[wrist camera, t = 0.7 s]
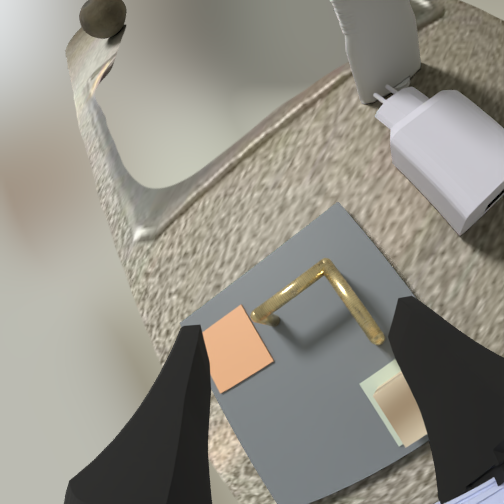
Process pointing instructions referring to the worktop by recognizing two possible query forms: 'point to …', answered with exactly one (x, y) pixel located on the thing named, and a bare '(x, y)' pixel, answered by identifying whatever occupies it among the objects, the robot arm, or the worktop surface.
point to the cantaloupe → (102, 17)
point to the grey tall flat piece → (379, 44)
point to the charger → (446, 151)
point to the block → (401, 409)
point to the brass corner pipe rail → (339, 285)
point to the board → (308, 364)
